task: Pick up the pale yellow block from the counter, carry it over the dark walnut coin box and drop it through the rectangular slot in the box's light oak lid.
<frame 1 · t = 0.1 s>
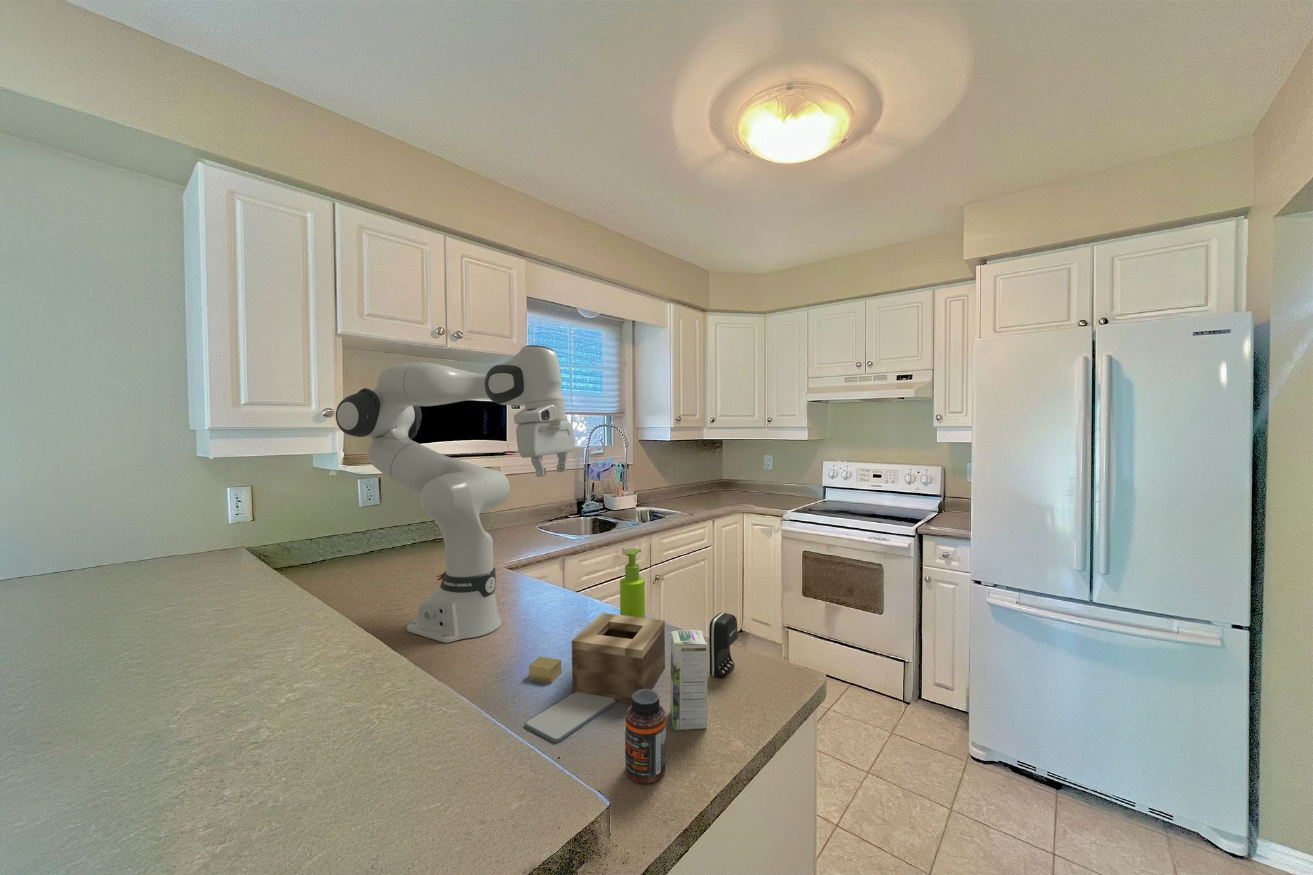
hand: (552, 474, 117), 39 cm above the worktop, tool pointing down, fingers open, 8 cm apart
supplement bottle: (645, 772, 74), on the worktop
syrup box: (688, 721, 86), on the worktop
pale yellow block: (545, 677, 101), on the worktop
coin box: (620, 679, 99), on the worktop
smartphone: (572, 716, 88), on the worktop
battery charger: (724, 672, 102), on the worktop
soap dispenser: (633, 634, 121), on the worktop
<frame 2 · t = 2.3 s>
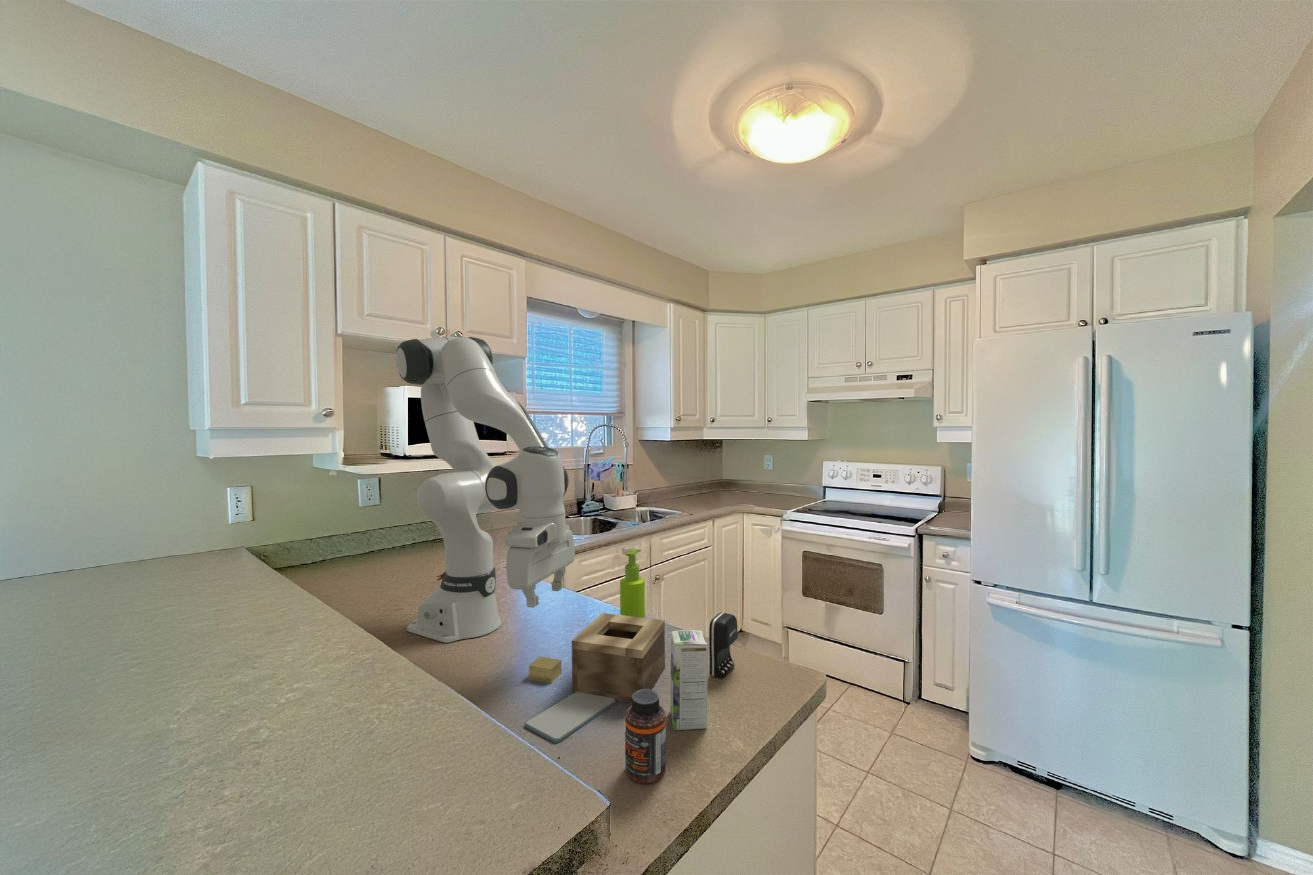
hand: (545, 597, 100), 16 cm above the worktop, tool pointing down, fingers open, 8 cm apart
nothing on the worktop moved.
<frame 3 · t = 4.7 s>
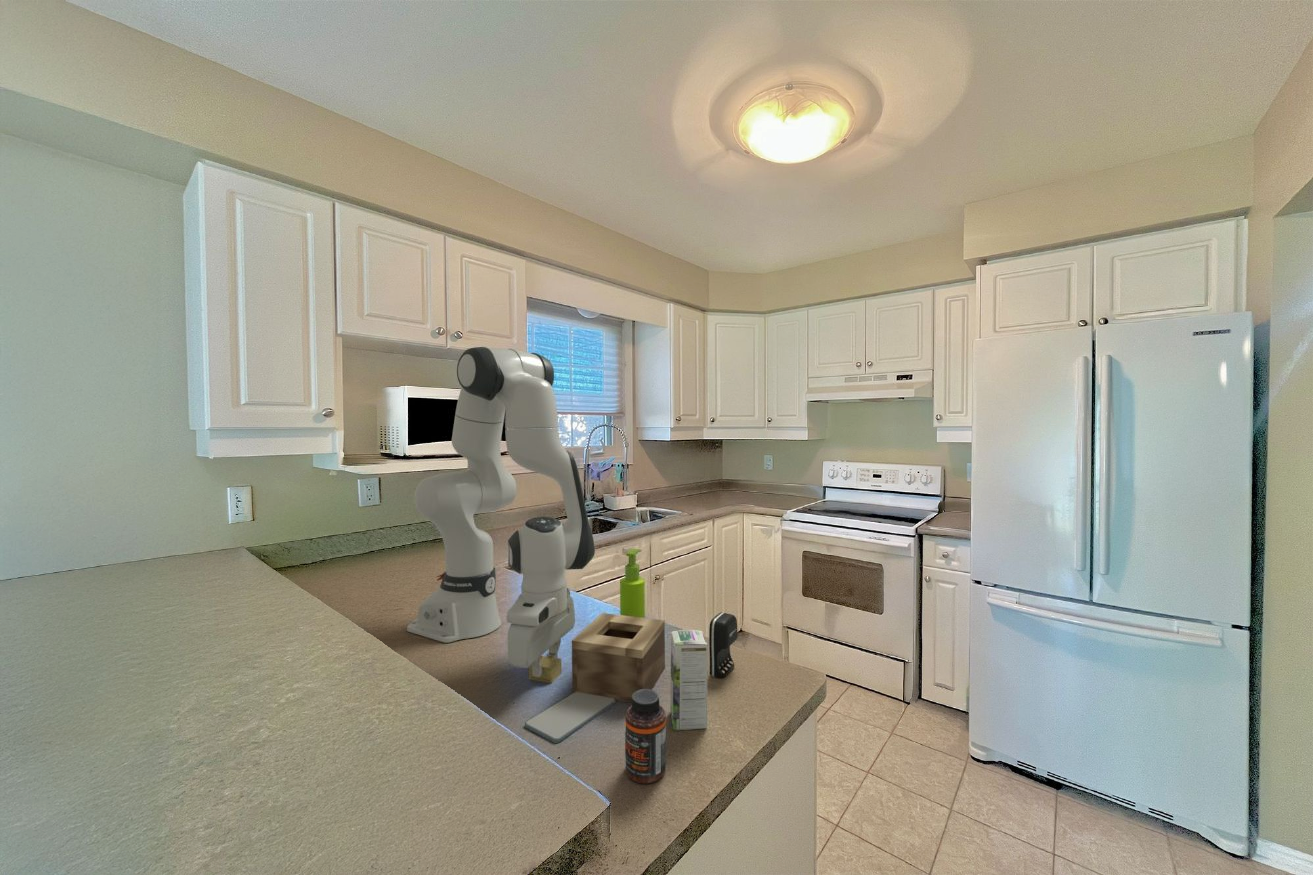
hand: (545, 668, 101), 2 cm above the worktop, tool pointing down, fingers closed on pale yellow block, 4 cm apart
pale yellow block: (545, 676, 101), on the worktop, touching gripper
everything else where it was.
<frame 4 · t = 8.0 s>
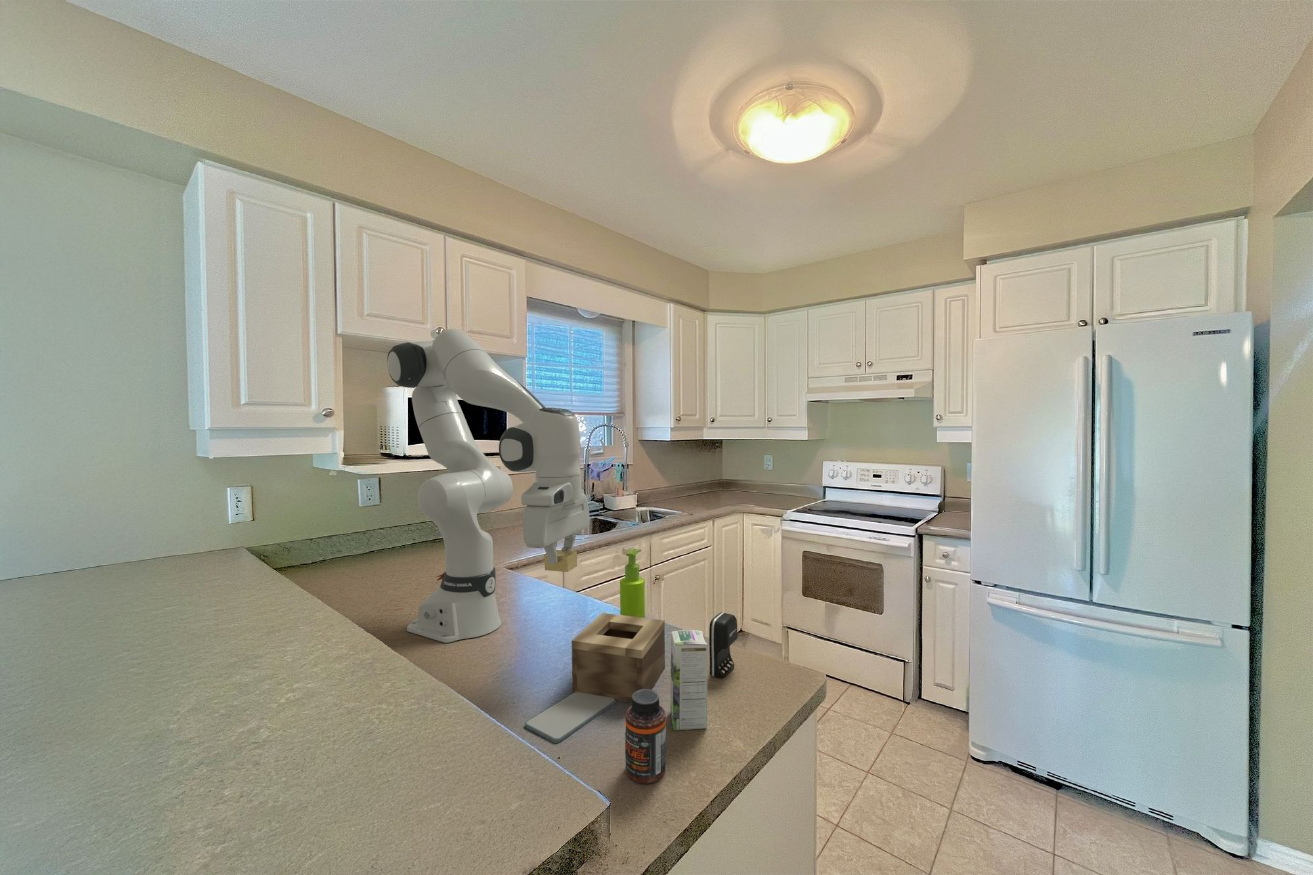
hand: (560, 559, 99), 24 cm above the worktop, tool pointing down, fingers closed on pale yellow block, 4 cm apart
pale yellow block: (561, 568, 100), point 22 cm above the worktop, touching gripper
everything else where it was.
when the fingers open (12 cm above the worktop, at t = 11.7 s): pale yellow block drops 9 cm, resting on coin box.
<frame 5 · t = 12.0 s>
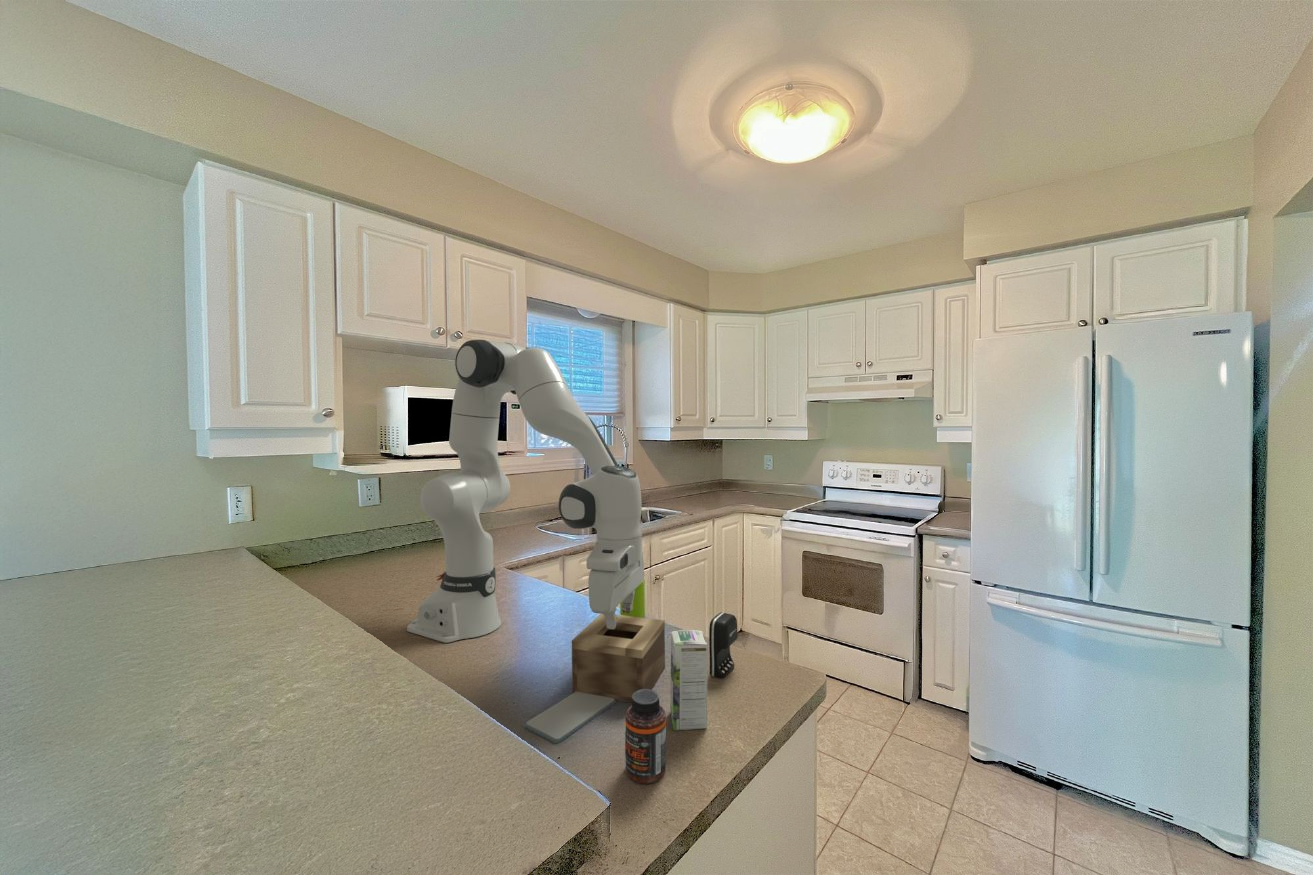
hand: (620, 619, 99), 12 cm above the worktop, tool pointing down, fingers open, 7 cm apart
pale yellow block: (620, 675, 99), point 1 cm above the worktop, touching coin box
everything else where it was.
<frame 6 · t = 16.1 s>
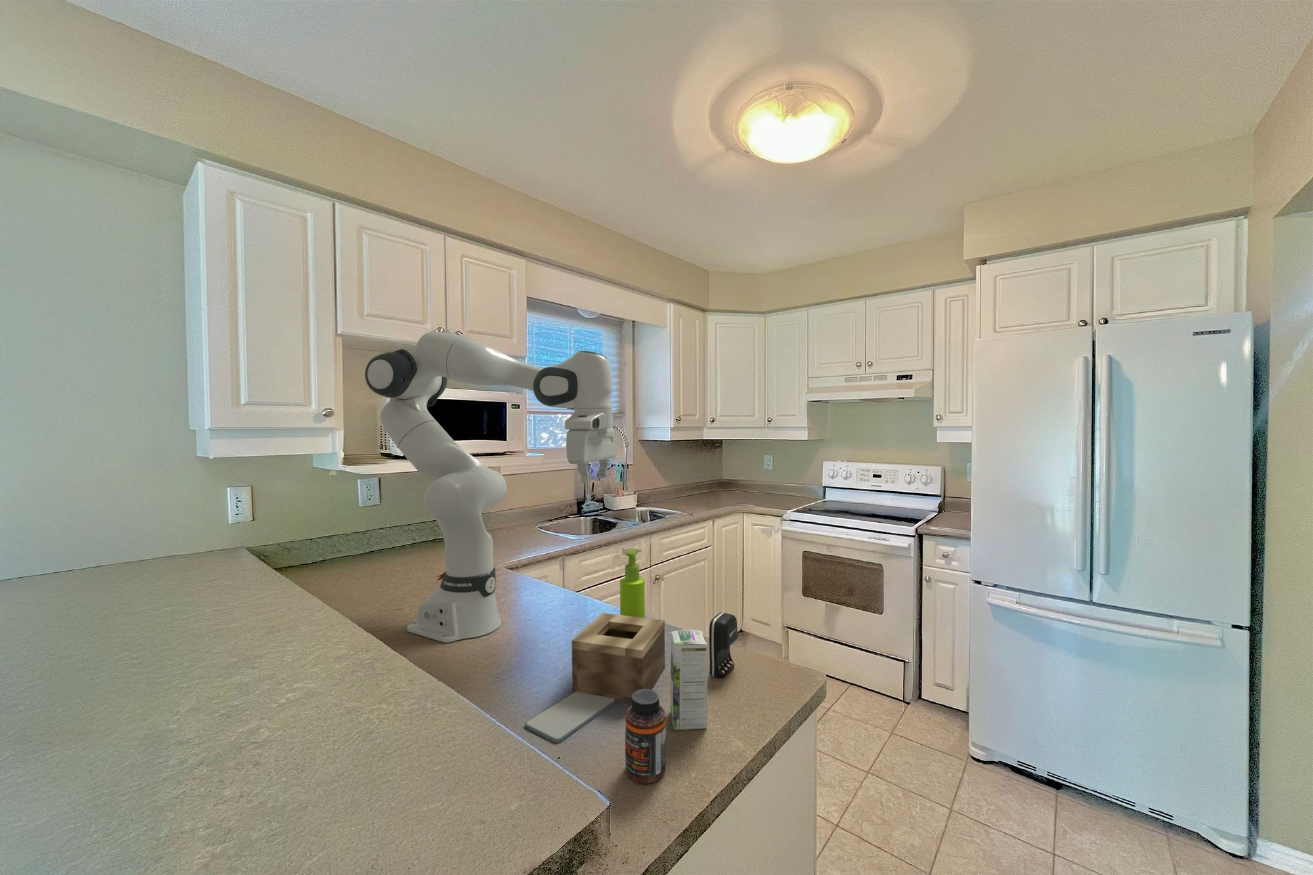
hand: (594, 480, 118), 37 cm above the worktop, tool pointing down, fingers open, 8 cm apart
nothing on the worktop moved.
at the end: pale yellow block inside the target area on the coin box (0.1 cm from its centre), point 1.0 cm above the coin box's base; the gripper is holding nothing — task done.
